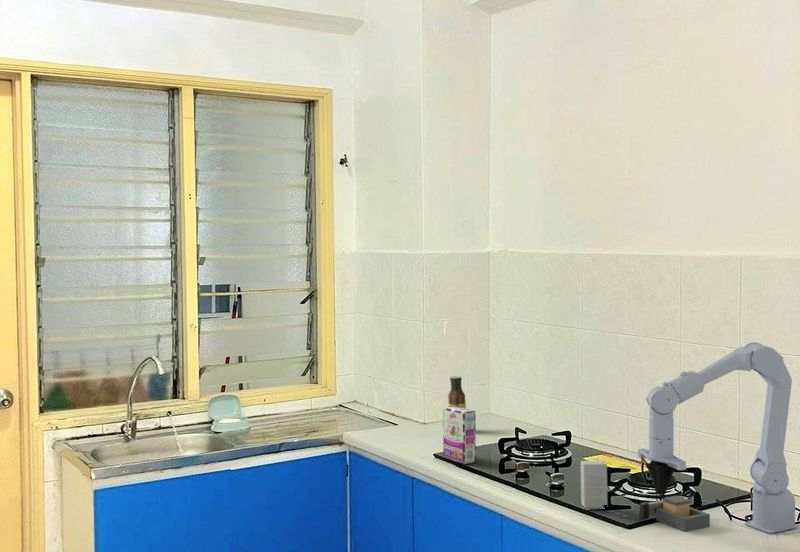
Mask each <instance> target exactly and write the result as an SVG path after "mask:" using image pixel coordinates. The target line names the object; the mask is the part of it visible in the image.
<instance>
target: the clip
mask: <svg viewBox="0 0 800 552" xmlns="http://www.w3.org/2000/svg"><path fill="white" fill-rule="evenodd" d="M678 496H679V497H682V498H685V496H682V495H678ZM656 508H662V509H663V499H662V500H658V501H651V502H646V501H645V502H640V503H639V519H640V520H642V521H645V520H649V519H650V516H655V515H656Z"/></svg>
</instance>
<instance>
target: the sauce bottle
mask: <svg viewBox="0 0 800 552" xmlns="http://www.w3.org/2000/svg"><path fill="white" fill-rule="evenodd" d="M449 378H450V379H449V380H450V391H449V393H448V395H447V397H448V403H447V404H448V407H451V406H456V407H460V408H464V409H467V405H466V395H465V392H464V391H463V388H462V379H463V378H462V376H458V375H456V376H450V377H449Z"/></svg>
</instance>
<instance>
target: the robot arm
mask: <svg viewBox="0 0 800 552" xmlns="http://www.w3.org/2000/svg"><path fill="white" fill-rule="evenodd" d="M734 371H744V372H745V371H747V372H752V371H755V373H757V374H758V375H759V376H760V377H761V378H762V379H763V380H764V381H765V383H766V384H767V388H766V395H765V396H766V397H765V403H764V411H763V412H764V413H763V421H762V428H761V438H760V445H759V449H758V450H757V451H756V453H755V458H754V460H753V462H752V464H751V465H750V468H749V474H750V477H751V479H752V480H753V481H754V482H753V483H754V484H753V486H752V520H748V521H744V525H745V526H748V527H751V528H754V529H757V530H759V531H762V532H764V533H767V534H774V533H776V534H777V533H779V532H784V531H787V530H788V531H789V530H794V529H797V528H799V526H798V525H797V524H796V499H795V496H794V494H793V493H792V491H791V490H789V489H788V486H789V483H790V478H789V476H788V473H787V465H788V464H787V461H786V458H785V453H784V451H785V442H786V435H787V434H786V433H787V432H786V431H787V426H788V417H789V410H790V400H791V392H792V386H793V385H792V383H793V381H792V379H793V378H792V376H791V374H790V372H789V370H788V368H787V366H786V363H785V362H784V357H783V356H782V355H781V354H780V353H779V352H778V351H777V350H776V349H774V348H772V347H770V346H767V345H763V344H762V343H759V342H757V341H756V342H755V341H754V342H749V343H747V344H746V345H744V346H740V347H737V348H736V349H734V350H733V351H731V352H730V353H728V354H726V355H725V356H723V357H721V358H720V359H718V360H716V361H715V362H713V363H711V364H709V365H708V366H706V367H704V368H703V369H701V370H700V371H698V372H695V371H692V370H688V371H687V372H686V371H685V370H682V371H681V372H680V373H679V375H680V376H677V377H675V378H674V379H672V380H670V381H668V382H667V381H664V382H662V383H661V384H662V386H655V387H653V388H651V389H650V390H649V392H648V393H647V397H645V398H646V399H645V400H646V402H647V405H648V406H649V411H648V412H649V413H648V414H649V417H648V449H646V448H640V449H639V448H638V449H637V458H638V459H645V460H648V461H649V462H648V463H646V465H645V466H646V468H647V470H648V472H649V474H650V476H651V480H652V482H653V485H654V491H655V493H656V494H659V495H662V494H667V490H668V486H669V483H670V480H671V478H672V476H673V475H674V474H673V473H675V470H677V471H685V470H686V469H687V461H686V460H683V459H681V458H679V457H677V456H676V455H674V449H675V448H674V445H675V444H674V441H675V440H674V435H675V434H674V429H675V428H674V427H675V425H674V422H675V420H674V411H675V410H676V408H677V405H680V404H682V403H684V402H686V401H688V400H690V399H691V398H693V397H696V396H697V395H699V394H700V393H701V394H702V393H703V392H704V388H705V386H706V385H707V384H709V383H711V382H713V381H716V380H717V379H719V378H722V377H724V376H726V375H728V374H729V373H732V372H734Z"/></svg>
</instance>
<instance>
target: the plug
mask: <svg viewBox="0 0 800 552" xmlns="http://www.w3.org/2000/svg"><path fill="white" fill-rule="evenodd" d="M679 496H680V495H672V496H668V497H663V498H662V500H663V509H665V510H667V511H670V512H673V513H675V514H678V515H681V516H683V517H687V516H689V515H690V507H691V506H690V499H687V498H685V497H684V498H682V497H679Z"/></svg>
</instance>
